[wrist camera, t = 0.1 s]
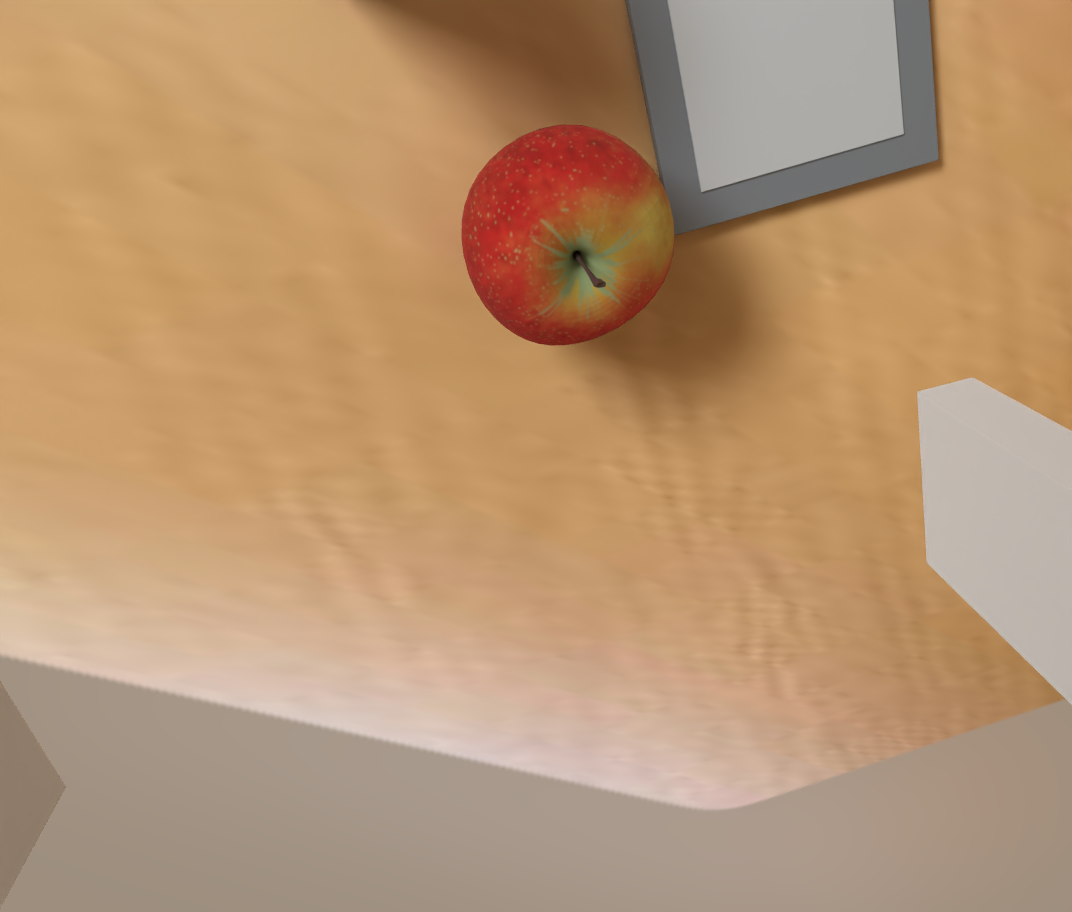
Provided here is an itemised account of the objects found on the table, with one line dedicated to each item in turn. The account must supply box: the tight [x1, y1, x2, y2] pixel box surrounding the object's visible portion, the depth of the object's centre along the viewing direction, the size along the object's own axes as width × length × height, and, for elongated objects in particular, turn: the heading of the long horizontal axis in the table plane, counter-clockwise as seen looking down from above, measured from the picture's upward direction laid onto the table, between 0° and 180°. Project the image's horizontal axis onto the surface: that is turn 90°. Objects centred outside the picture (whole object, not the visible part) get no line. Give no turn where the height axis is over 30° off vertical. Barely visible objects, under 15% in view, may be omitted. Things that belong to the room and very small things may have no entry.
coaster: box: [625, 0, 939, 236], centre depth 35 cm, size 12×12×1 cm
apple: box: [462, 125, 675, 345], centre depth 33 cm, size 8×8×10 cm
